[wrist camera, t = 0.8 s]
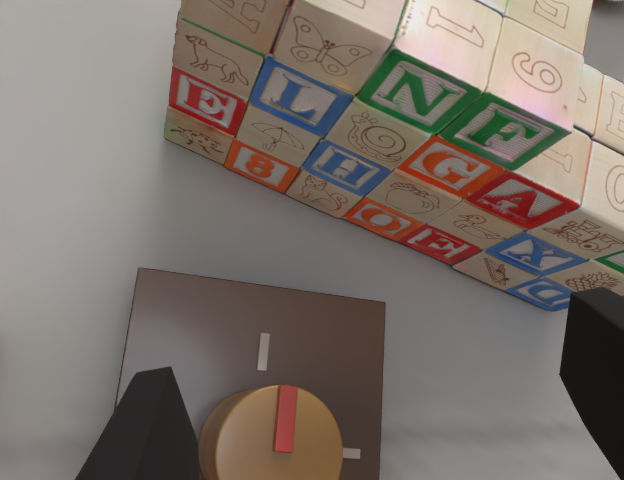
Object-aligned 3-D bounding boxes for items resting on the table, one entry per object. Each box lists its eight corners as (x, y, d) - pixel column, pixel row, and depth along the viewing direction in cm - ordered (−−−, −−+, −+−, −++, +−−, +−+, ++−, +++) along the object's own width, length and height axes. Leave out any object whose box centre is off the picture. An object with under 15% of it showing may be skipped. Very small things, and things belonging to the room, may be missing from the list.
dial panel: (344, 609, 24) (375, 637, 21) (81, 611, 21) (74, 643, 18) (359, 313, 27) (387, 301, 24) (136, 283, 25) (138, 265, 22)
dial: (302, 509, 21) (343, 530, 17) (190, 504, 20) (207, 526, 16) (310, 394, 22) (350, 390, 18) (205, 384, 21) (224, 377, 17)
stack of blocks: (569, 210, 33) (806, 102, 21) (551, 315, 30) (804, 256, 19) (209, 34, 29) (266, -209, 18) (157, 139, 27) (184, -64, 15)
